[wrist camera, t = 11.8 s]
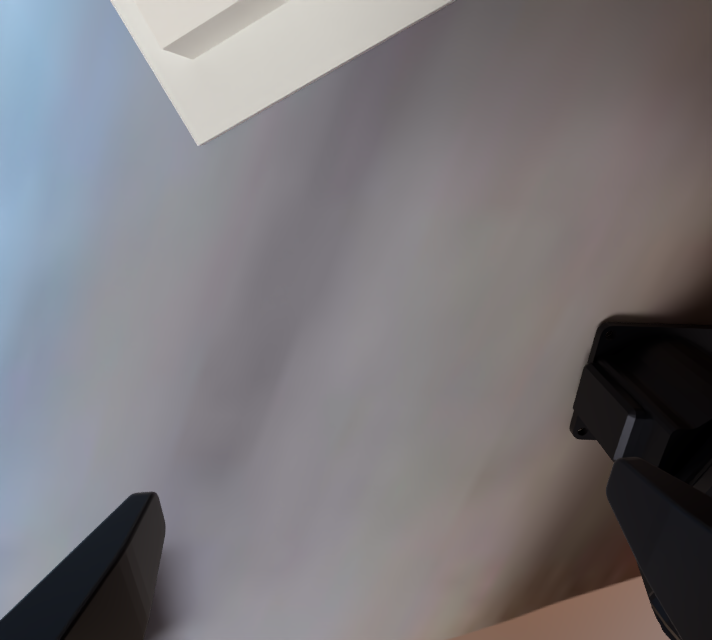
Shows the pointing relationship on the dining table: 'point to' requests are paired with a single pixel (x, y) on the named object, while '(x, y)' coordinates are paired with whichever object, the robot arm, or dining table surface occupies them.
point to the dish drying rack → (255, 49)
